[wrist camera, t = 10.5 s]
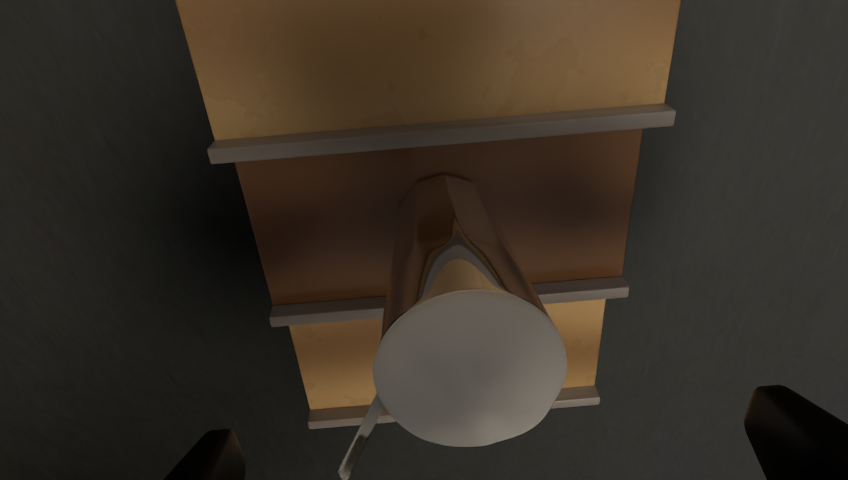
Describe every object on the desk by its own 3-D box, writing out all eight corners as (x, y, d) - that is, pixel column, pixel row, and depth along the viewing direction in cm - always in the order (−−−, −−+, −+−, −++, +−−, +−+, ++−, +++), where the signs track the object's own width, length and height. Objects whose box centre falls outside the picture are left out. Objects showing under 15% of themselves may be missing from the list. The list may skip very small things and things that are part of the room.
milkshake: (340, 185, 19) (294, 407, 10) (487, 138, 18) (573, 331, 9) (384, 285, 21) (378, 536, 12) (517, 246, 20) (607, 482, 12)
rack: (589, 380, 27) (617, 447, 24) (313, 404, 27) (301, 474, 23) (655, -157, 16) (728, -180, 12) (182, -120, 16) (123, -132, 12)
